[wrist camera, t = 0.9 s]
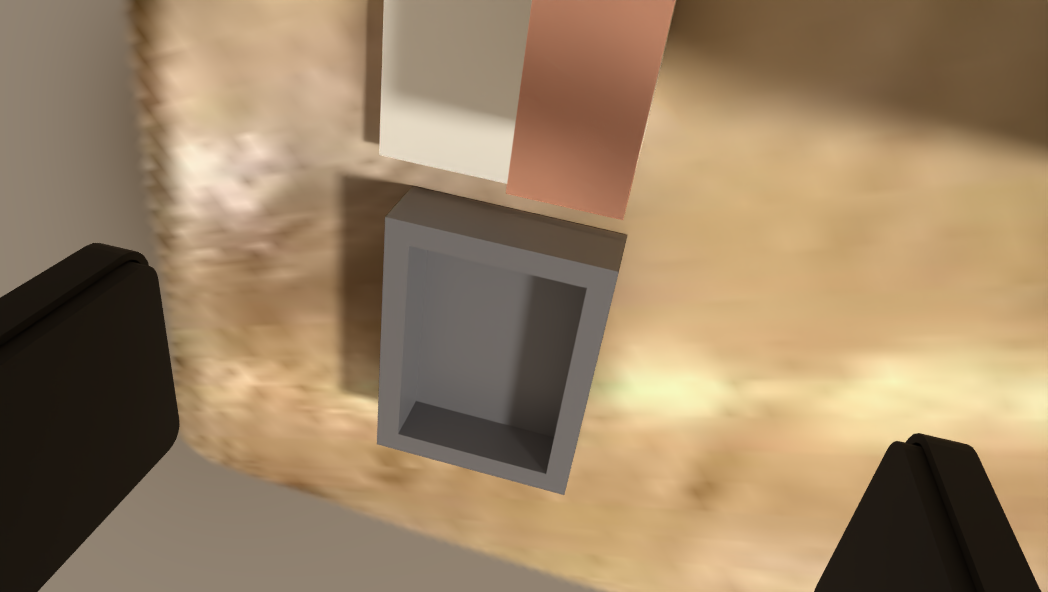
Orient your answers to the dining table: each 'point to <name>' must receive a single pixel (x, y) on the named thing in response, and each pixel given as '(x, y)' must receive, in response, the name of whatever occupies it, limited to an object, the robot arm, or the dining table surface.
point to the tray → (490, 334)
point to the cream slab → (452, 83)
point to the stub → (586, 100)
